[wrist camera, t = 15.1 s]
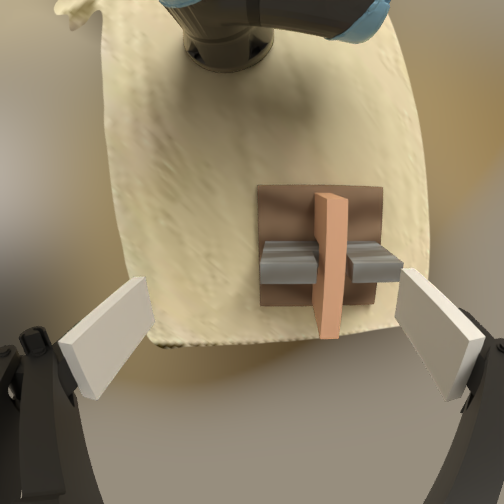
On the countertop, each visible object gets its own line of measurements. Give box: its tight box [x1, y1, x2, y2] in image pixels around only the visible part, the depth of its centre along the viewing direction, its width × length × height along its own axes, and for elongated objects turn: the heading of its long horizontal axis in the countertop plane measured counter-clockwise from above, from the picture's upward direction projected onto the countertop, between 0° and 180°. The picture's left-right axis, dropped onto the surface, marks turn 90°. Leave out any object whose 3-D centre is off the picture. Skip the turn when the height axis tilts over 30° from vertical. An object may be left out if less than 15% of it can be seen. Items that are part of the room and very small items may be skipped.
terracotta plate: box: [312, 193, 348, 339], centre depth 39 cm, size 18×2×12 cm, turn 2°
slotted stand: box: [257, 185, 404, 306], centre depth 40 cm, size 20×20×14 cm
